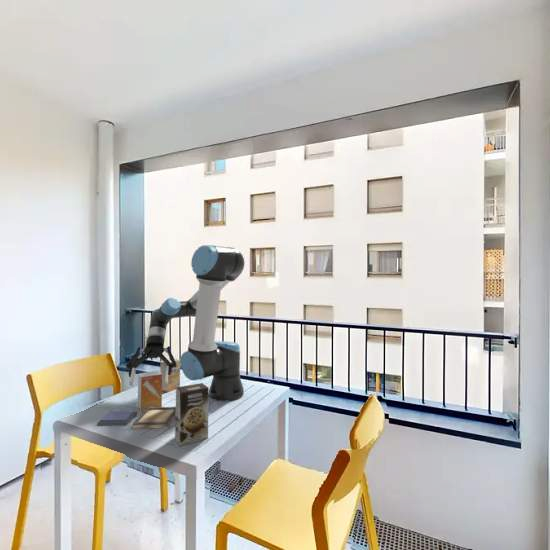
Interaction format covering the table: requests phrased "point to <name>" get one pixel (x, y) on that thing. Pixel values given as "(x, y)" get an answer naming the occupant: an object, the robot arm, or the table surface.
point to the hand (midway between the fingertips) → (148, 383)
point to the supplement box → (170, 376)
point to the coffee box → (191, 413)
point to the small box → (149, 389)
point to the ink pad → (117, 418)
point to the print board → (155, 417)
